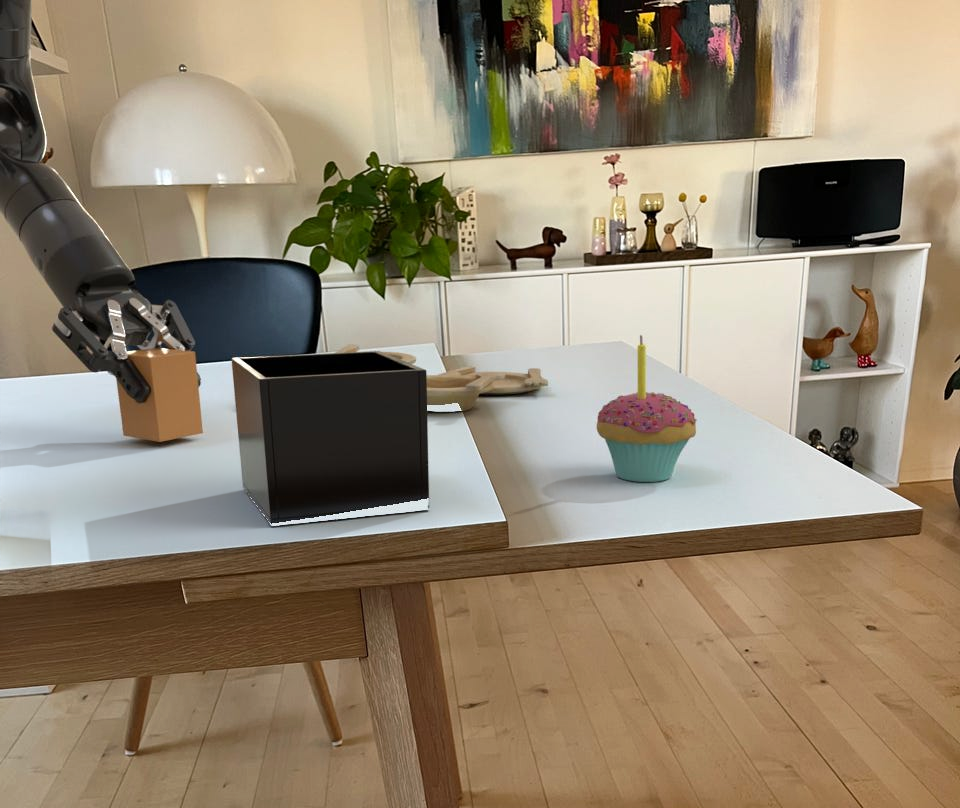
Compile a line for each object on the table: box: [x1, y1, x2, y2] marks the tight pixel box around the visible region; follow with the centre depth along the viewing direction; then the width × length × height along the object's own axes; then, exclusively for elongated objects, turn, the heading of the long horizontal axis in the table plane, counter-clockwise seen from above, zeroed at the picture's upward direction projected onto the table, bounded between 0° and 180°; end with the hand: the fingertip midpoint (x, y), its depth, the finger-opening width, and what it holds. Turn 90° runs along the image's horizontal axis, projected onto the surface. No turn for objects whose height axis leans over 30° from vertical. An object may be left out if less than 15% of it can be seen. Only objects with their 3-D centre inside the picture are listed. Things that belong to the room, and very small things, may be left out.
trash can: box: [230, 350, 430, 524], centre depth 81 cm, size 12×12×11 cm
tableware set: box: [334, 343, 549, 413], centre depth 130 cm, size 35×29×4 cm
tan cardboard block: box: [115, 347, 204, 443], centre depth 103 cm, size 6×6×8 cm
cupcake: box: [596, 334, 698, 483], centre depth 88 cm, size 9×8×12 cm
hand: (170, 393), depth 102 cm, fingers closed on tan cardboard block, 5 cm apart
